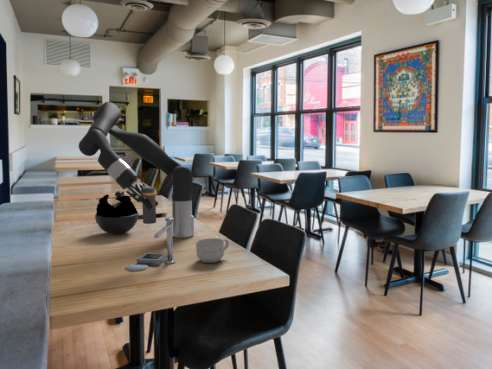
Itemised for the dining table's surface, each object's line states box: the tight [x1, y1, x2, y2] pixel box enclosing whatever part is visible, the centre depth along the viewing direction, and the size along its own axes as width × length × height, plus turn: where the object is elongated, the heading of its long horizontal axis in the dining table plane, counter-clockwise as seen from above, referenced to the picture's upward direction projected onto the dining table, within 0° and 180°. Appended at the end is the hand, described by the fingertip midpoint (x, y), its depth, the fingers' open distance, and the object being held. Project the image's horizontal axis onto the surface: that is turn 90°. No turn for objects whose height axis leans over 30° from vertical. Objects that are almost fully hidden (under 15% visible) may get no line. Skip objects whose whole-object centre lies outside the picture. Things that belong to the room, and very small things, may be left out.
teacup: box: [195, 237, 230, 264], centre depth 166 cm, size 14×11×8 cm
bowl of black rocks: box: [94, 194, 140, 236], centre depth 207 cm, size 20×20×19 cm
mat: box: [125, 262, 149, 272], centre depth 157 cm, size 8×8×1 cm
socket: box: [136, 252, 168, 267], centre depth 164 cm, size 9×9×2 cm
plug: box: [141, 186, 157, 225], centre depth 161 cm, size 5×5×13 cm
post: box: [164, 221, 176, 265], centre depth 163 cm, size 4×4×16 cm
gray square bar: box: [153, 217, 174, 239], centre depth 153 cm, size 20×3×3 cm, turn 176°
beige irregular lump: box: [111, 190, 125, 208], centre depth 234 cm, size 16×11×18 cm
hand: (154, 206), depth 161 cm, fingers closed on plug, 4 cm apart
